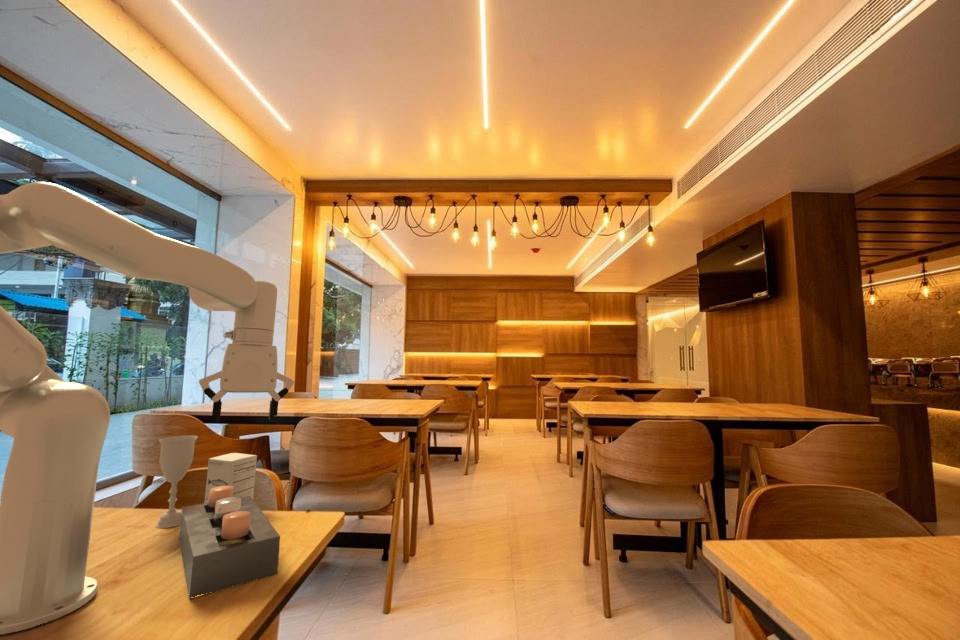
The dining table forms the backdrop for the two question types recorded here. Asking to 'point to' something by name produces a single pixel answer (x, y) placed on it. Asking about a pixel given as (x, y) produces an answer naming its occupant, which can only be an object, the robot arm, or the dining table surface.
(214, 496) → the far knob
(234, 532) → the near knob
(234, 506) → the middle knob
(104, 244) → the robot arm
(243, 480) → the supplement box
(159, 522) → the chalice
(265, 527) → the knob housing
